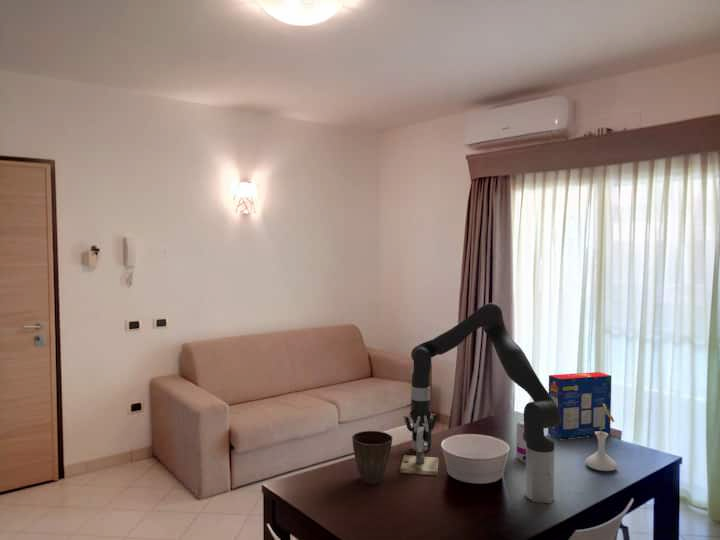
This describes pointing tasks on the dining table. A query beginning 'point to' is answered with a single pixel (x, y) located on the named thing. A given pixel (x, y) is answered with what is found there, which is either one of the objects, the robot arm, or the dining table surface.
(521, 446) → the supplement can
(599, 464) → the flower in vase
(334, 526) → the dining table surface
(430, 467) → the post base
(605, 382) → the blue product box
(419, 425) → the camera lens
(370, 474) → the plant pot
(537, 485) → the robot arm
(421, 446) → the collar
